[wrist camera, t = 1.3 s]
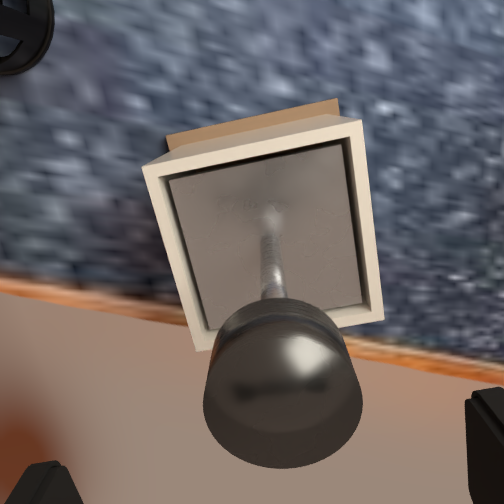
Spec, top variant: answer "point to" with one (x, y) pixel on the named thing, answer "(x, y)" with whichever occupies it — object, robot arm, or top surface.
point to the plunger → (275, 303)
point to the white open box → (255, 148)
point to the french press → (26, 34)
